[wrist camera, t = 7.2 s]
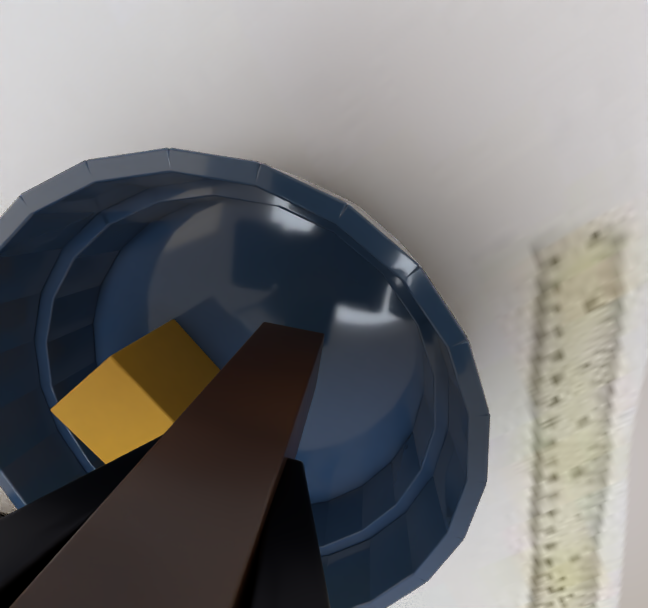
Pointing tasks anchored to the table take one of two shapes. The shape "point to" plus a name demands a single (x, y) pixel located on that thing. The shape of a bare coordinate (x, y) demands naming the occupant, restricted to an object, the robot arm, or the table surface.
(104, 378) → the mustard block
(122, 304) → the bowl
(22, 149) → the table surface
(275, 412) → the dark brown bar
